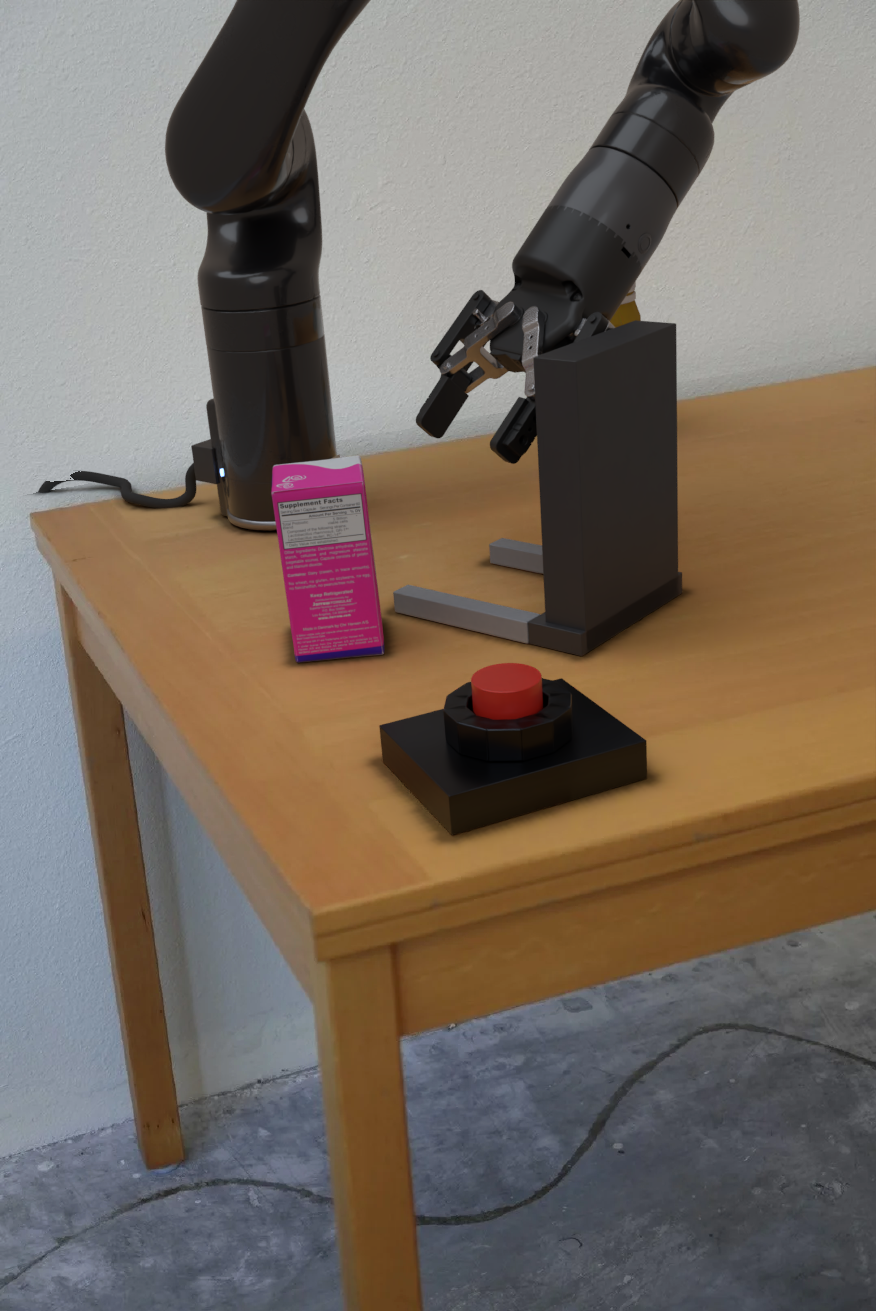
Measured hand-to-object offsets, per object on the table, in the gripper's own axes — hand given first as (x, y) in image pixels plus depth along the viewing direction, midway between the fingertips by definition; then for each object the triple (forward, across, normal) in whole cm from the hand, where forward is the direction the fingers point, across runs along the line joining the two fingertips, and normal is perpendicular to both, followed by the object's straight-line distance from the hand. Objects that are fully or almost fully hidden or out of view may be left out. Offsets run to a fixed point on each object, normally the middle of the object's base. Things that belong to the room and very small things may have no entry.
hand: (462, 443), depth 96 cm
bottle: (-16, -26, +31) cm, 44 cm away
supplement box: (+15, 0, 0) cm, 15 cm away
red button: (+14, +22, -4) cm, 26 cm away
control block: (+17, +22, -1) cm, 27 cm away
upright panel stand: (+6, +4, +10) cm, 12 cm away
